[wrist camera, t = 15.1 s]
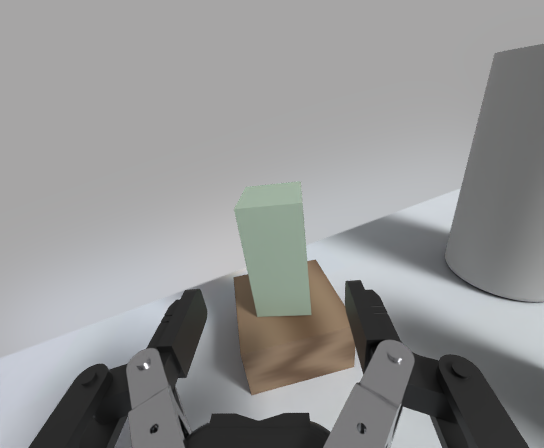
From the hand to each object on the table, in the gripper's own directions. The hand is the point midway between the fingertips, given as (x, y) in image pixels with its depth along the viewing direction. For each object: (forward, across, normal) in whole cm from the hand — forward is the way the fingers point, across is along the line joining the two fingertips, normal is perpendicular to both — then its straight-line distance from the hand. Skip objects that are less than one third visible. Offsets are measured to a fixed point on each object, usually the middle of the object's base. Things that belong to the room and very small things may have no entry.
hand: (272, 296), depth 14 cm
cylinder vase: (+17, -28, +14) cm, 36 cm away
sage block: (+8, 0, +8) cm, 12 cm away
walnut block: (+8, 0, +14) cm, 17 cm away
